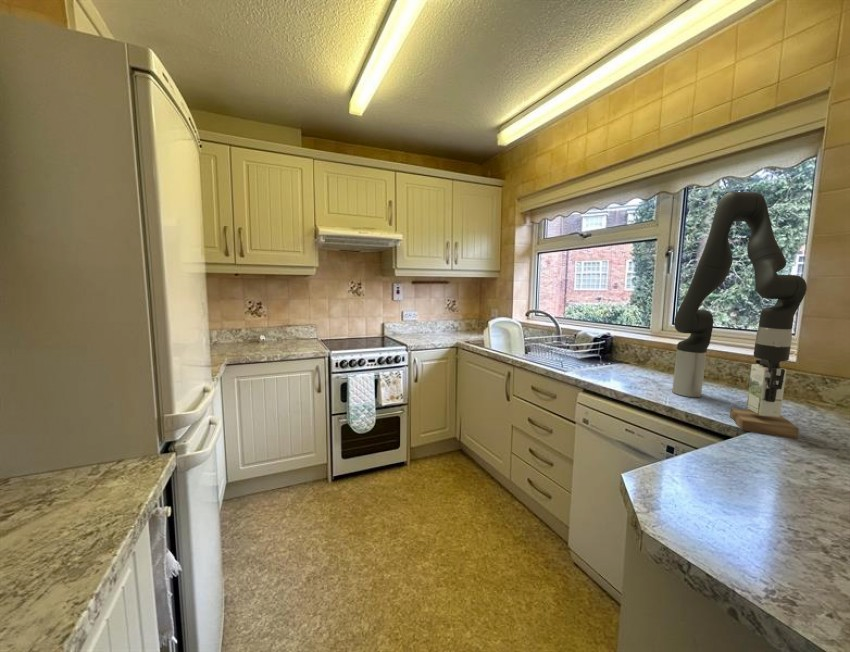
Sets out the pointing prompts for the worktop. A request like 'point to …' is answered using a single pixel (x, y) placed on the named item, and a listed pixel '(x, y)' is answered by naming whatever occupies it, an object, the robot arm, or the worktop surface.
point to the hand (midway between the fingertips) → (764, 397)
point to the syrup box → (763, 393)
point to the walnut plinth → (764, 423)
